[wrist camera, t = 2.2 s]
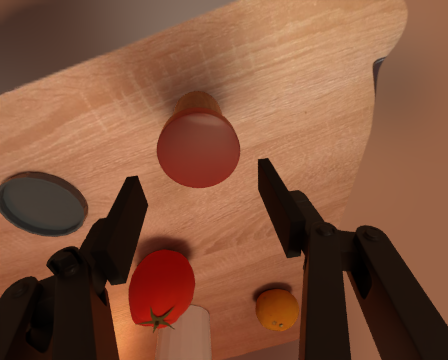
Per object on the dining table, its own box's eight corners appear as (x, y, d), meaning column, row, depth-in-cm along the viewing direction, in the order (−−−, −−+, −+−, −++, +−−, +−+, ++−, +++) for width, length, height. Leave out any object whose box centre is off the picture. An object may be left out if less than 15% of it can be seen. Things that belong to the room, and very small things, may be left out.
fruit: (270, 278, 53) (281, 312, 47) (299, 288, 58) (313, 321, 51) (244, 299, 58) (251, 333, 51) (273, 307, 62) (283, 340, 55)
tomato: (122, 252, 43) (97, 326, 32) (176, 228, 41) (169, 297, 30) (157, 280, 49) (146, 350, 38) (205, 260, 47) (209, 328, 36)
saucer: (-17, 178, 31) (-26, 183, 30) (67, 167, 32) (61, 172, 31) (30, 234, 38) (25, 241, 37) (99, 224, 38) (96, 230, 37)
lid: (142, 130, 20) (138, 138, 19) (216, 91, 19) (218, 96, 17) (185, 189, 24) (184, 199, 23) (248, 159, 23) (252, 168, 21)
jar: (164, 105, 29) (149, 138, 19) (207, 81, 28) (214, 104, 18) (189, 144, 32) (187, 190, 23) (228, 125, 31) (243, 163, 22)
